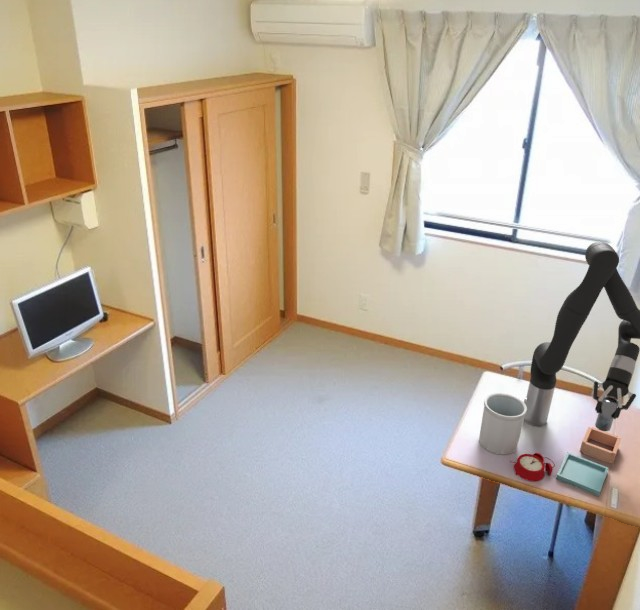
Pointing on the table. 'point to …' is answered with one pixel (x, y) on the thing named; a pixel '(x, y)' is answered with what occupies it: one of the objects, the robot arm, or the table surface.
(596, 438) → the light orange open box
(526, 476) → the alarm clock
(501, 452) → the utensil holder
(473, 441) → the table surface
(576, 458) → the teal tray
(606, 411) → the canister
